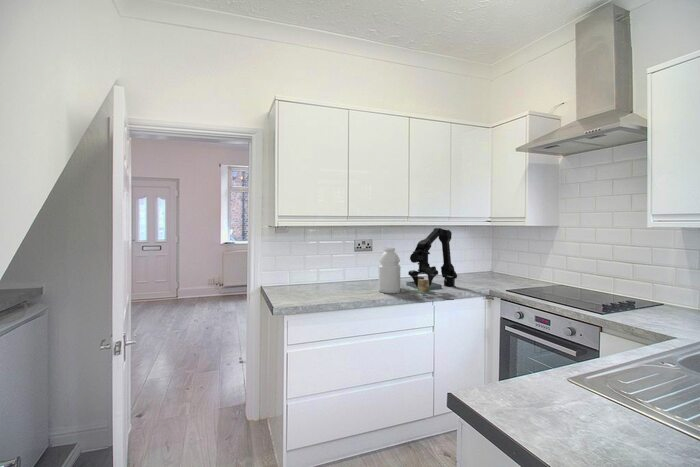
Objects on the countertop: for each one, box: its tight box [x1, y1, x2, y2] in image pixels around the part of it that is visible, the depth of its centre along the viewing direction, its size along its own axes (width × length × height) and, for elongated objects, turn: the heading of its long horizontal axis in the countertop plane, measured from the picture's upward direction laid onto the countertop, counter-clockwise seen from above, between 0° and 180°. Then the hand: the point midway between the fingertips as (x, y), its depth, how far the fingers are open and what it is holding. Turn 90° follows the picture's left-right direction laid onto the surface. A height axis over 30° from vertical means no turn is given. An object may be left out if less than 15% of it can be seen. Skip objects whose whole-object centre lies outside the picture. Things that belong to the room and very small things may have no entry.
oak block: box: [417, 278, 430, 292], centre depth 212 cm, size 5×5×7 cm
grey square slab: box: [406, 280, 443, 290], centre depth 229 cm, size 16×18×3 cm
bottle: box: [378, 247, 401, 294], centre depth 215 cm, size 14×14×28 cm
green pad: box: [412, 289, 436, 295], centre depth 212 cm, size 10×10×1 cm
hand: (423, 286), depth 212 cm, fingers open, 9 cm apart
